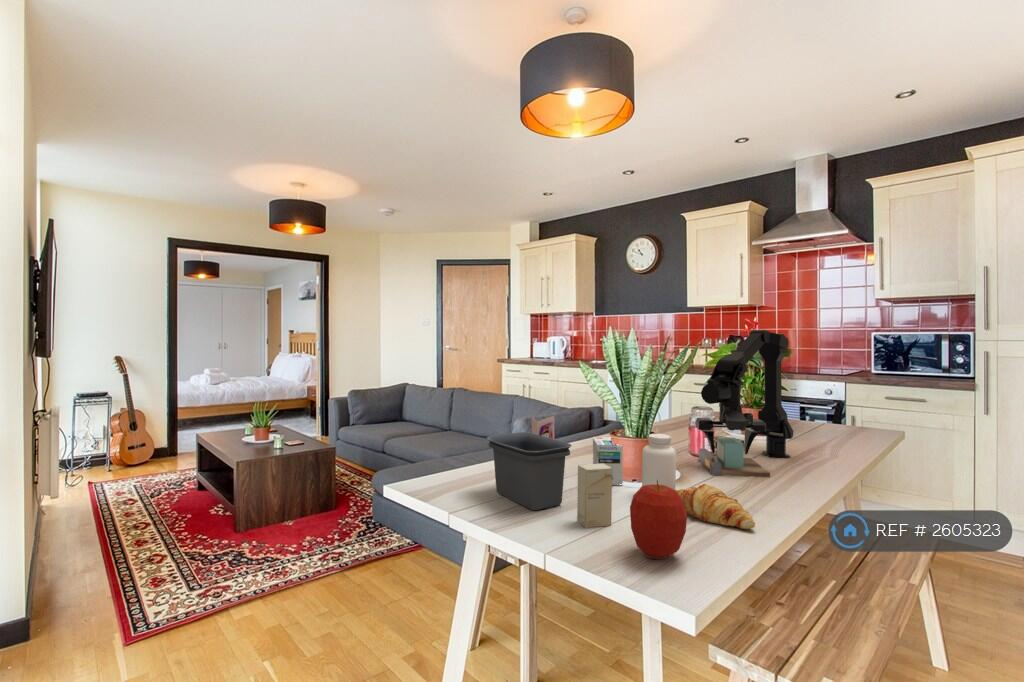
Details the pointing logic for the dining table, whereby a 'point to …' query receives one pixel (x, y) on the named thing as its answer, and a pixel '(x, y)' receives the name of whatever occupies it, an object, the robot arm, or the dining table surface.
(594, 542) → the dining table surface
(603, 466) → the skincare box
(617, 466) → the light bulb box
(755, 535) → the dining table surface
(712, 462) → the price rail
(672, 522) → the apple
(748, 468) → the shelf board
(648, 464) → the pill bottle
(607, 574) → the dining table surface
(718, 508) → the croissant
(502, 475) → the storage bin
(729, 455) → the teal carton
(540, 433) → the pink printed box
